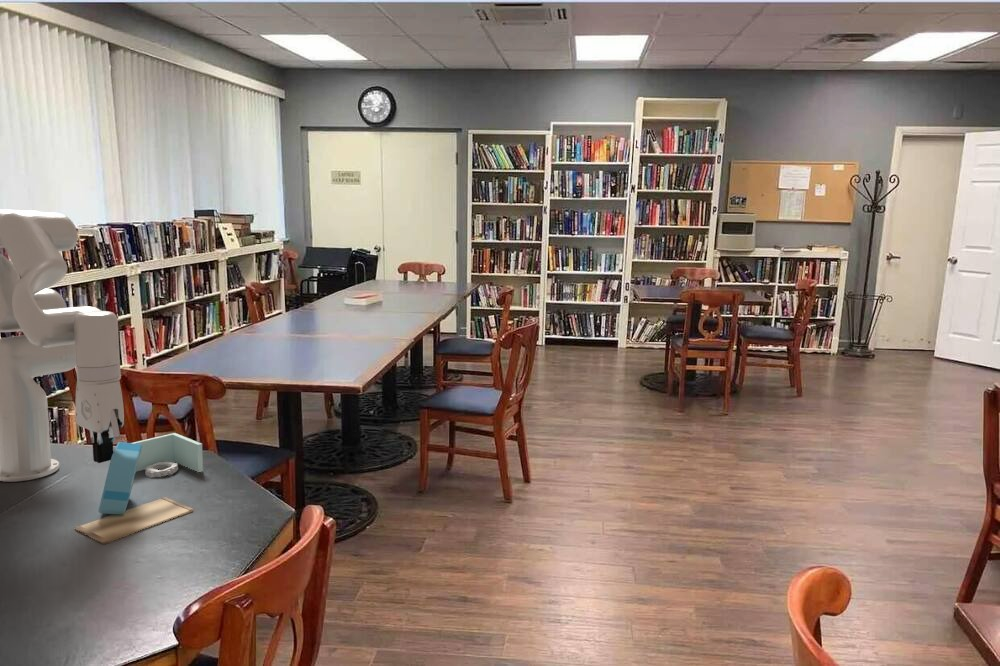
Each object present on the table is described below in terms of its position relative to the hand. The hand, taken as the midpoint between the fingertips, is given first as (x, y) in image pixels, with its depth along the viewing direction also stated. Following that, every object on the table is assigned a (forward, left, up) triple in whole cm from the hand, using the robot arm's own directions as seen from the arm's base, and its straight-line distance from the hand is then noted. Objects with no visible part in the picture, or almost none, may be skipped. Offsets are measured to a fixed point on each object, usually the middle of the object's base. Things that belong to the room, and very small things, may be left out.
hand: (103, 460), depth 135 cm
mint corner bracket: (-8, +18, -11) cm, 22 cm away
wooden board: (+11, 0, -10) cm, 15 cm away
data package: (+3, 0, -9) cm, 10 cm away
